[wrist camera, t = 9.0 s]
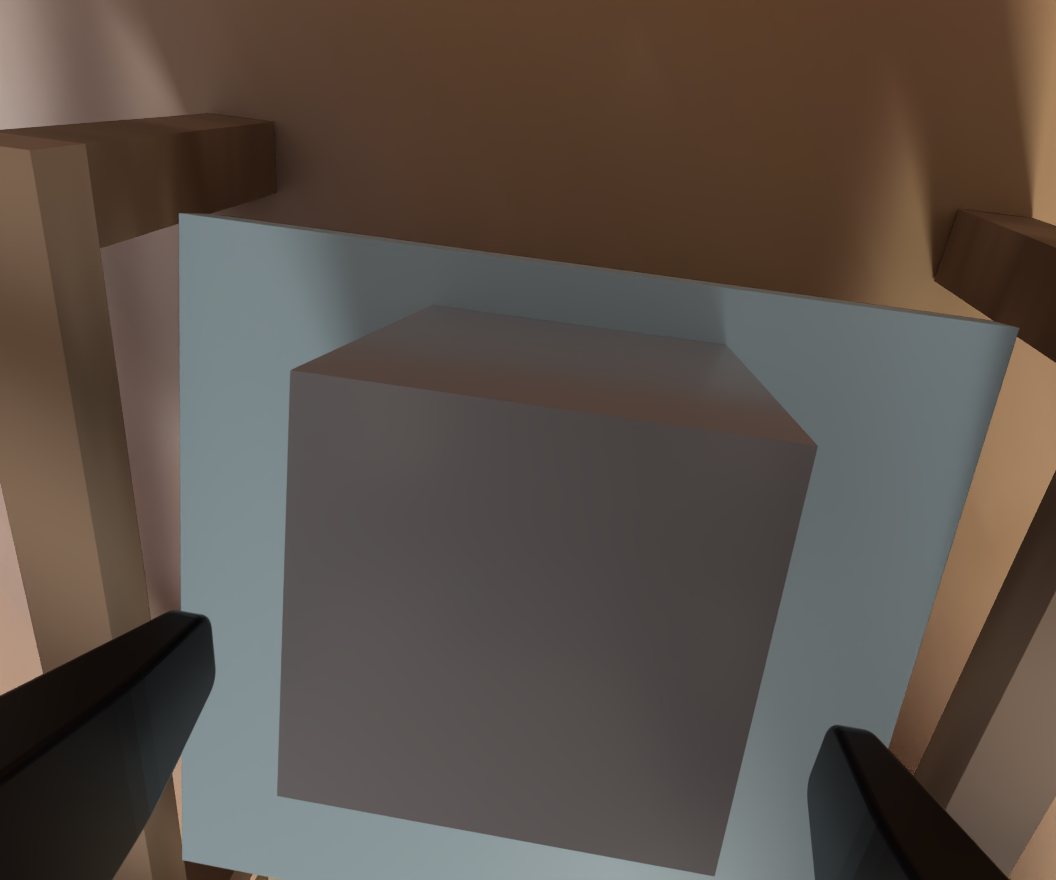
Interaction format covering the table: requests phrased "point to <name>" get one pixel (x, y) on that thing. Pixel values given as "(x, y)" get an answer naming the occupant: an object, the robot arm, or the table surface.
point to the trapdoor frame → (106, 486)
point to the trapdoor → (592, 300)
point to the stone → (533, 580)
